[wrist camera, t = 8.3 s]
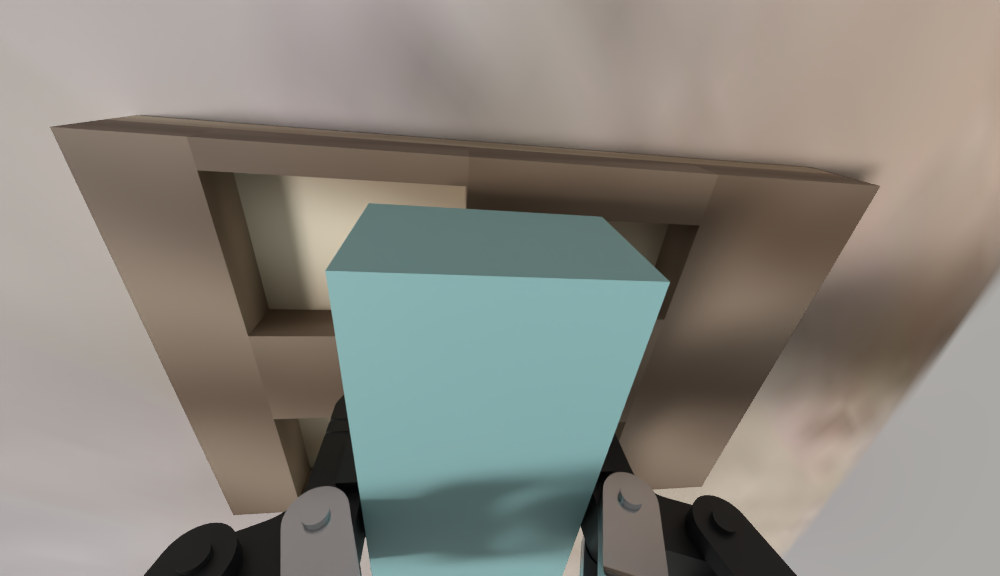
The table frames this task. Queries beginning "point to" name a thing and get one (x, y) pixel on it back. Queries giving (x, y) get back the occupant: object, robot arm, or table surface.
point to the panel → (484, 379)
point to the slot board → (450, 184)
